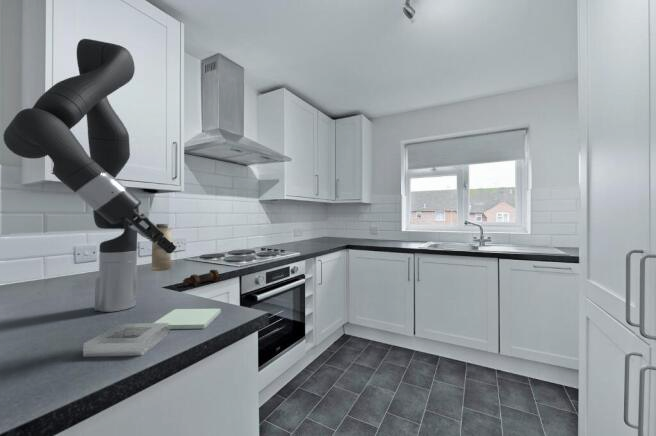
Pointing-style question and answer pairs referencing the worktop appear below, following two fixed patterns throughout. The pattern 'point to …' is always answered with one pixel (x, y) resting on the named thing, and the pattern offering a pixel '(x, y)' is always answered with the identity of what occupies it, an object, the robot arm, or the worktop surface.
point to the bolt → (201, 278)
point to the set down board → (189, 318)
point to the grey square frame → (126, 340)
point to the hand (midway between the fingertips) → (170, 249)
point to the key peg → (161, 251)
